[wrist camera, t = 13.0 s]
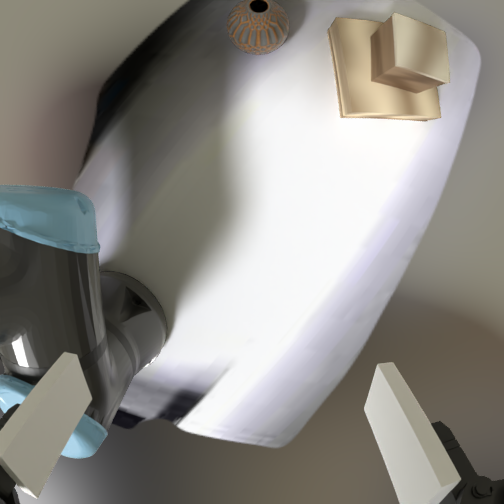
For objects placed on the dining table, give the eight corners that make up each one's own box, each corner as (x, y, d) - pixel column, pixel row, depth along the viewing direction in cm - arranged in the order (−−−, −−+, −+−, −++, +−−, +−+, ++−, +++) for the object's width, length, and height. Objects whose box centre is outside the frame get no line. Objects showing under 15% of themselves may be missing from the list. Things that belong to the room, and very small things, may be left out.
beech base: (339, 118, 34) (351, 112, 29) (326, 32, 30) (335, 17, 25) (421, 122, 33) (441, 118, 28) (407, 41, 30) (424, 30, 25)
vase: (284, 16, 29) (291, -19, 21) (287, 61, 31) (297, 33, 23) (228, 17, 29) (222, -18, 21) (229, 62, 31) (223, 34, 23)
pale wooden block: (370, 81, 28) (397, 64, 21) (369, 36, 26) (394, 12, 19) (416, 94, 28) (450, 82, 21) (415, 50, 26) (445, 32, 19)
